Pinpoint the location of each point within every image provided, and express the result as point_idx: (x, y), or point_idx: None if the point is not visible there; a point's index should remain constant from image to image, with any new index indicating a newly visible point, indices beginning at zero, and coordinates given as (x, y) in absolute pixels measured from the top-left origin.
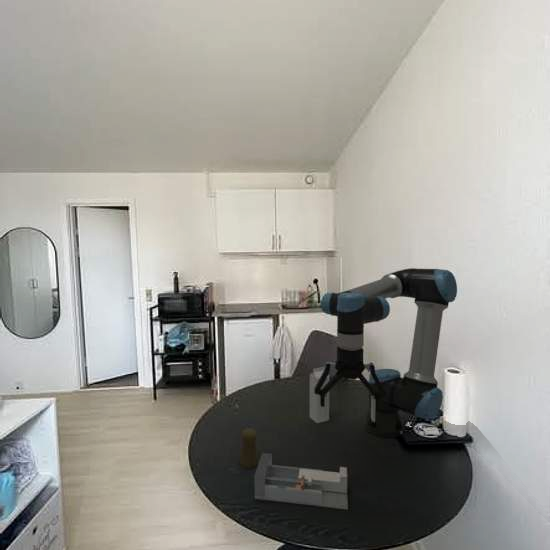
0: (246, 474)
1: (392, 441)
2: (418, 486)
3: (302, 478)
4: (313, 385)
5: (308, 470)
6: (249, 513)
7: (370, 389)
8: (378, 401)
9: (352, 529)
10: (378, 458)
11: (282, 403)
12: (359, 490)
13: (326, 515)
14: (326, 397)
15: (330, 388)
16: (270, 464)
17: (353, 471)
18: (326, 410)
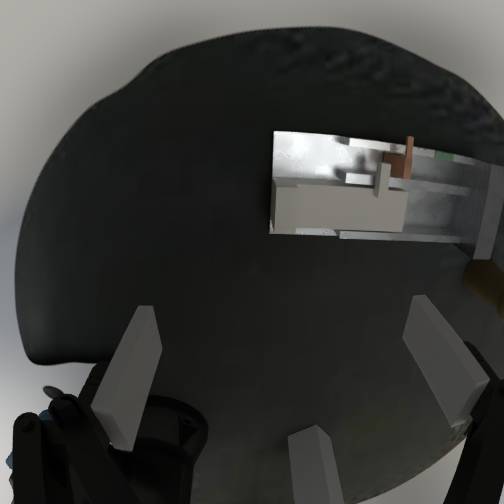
0: None
1: None
2: (93, 242)
3: (409, 163)
4: (336, 499)
5: (380, 227)
6: (478, 116)
7: (107, 485)
8: (81, 399)
9: (266, 69)
10: (178, 331)
11: (376, 457)
12: (235, 205)
13: (328, 107)
14: (480, 380)
15: (486, 444)
16: (467, 235)
17: (245, 277)
18: (438, 324)
